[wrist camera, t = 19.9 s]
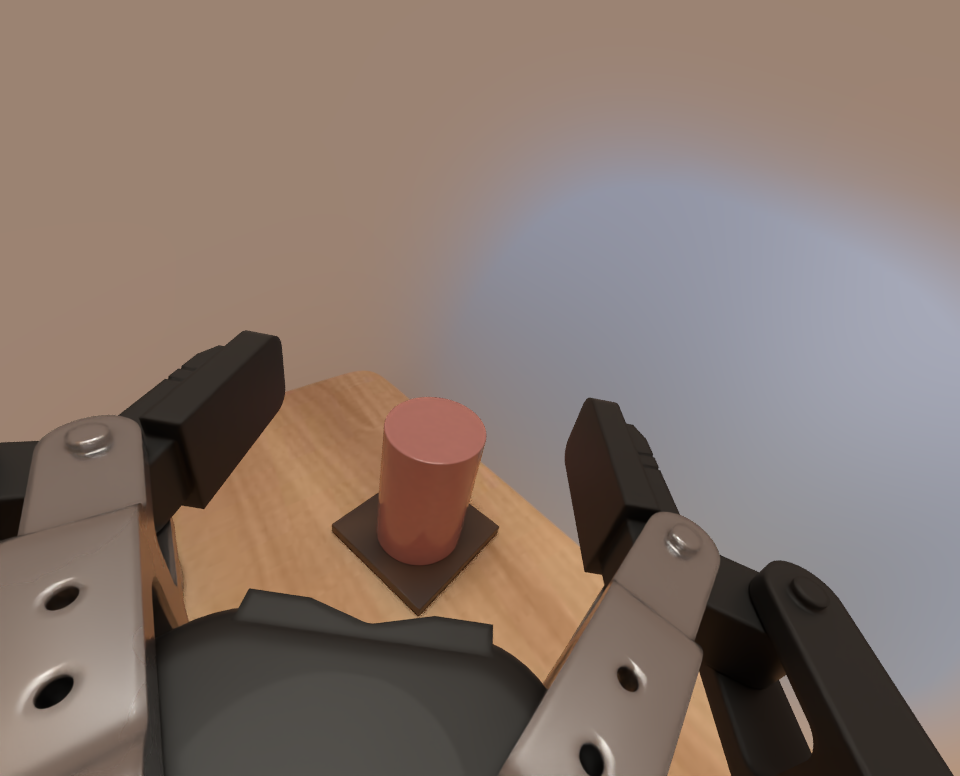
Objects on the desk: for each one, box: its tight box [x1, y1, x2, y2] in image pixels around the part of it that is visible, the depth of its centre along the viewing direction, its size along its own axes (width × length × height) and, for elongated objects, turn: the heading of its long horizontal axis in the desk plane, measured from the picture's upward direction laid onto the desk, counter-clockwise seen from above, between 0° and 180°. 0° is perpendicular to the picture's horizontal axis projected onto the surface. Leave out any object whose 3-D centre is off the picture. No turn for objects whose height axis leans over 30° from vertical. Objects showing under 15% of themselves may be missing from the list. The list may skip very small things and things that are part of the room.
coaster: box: [332, 493, 499, 616], centre depth 31 cm, size 9×9×1 cm
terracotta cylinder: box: [376, 397, 486, 566], centre depth 28 cm, size 6×6×10 cm
